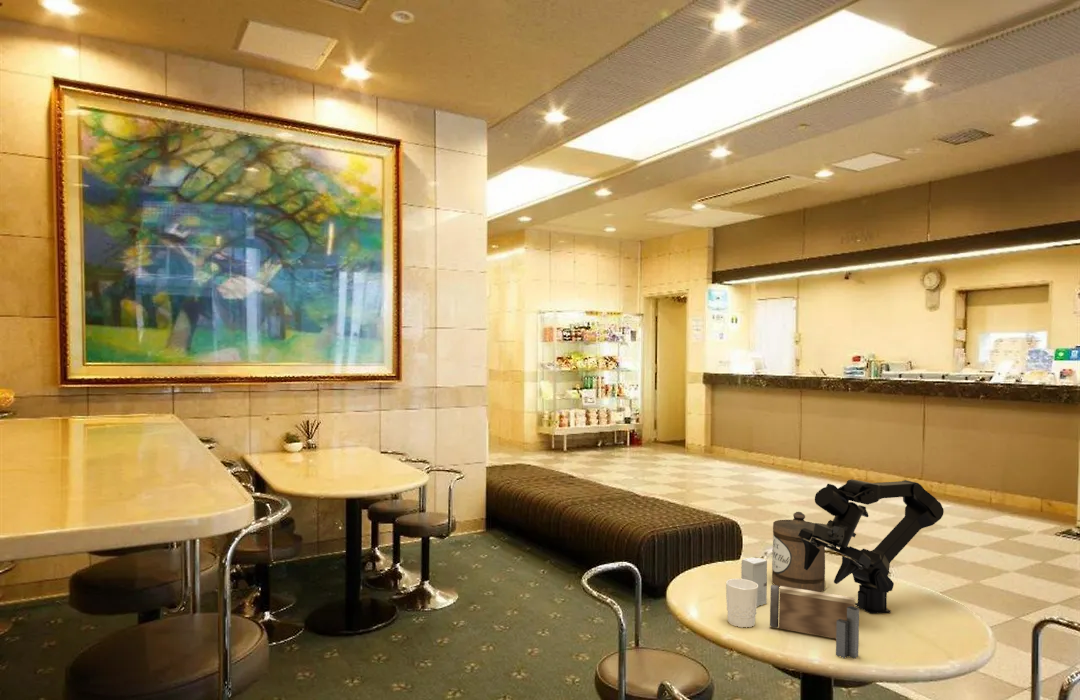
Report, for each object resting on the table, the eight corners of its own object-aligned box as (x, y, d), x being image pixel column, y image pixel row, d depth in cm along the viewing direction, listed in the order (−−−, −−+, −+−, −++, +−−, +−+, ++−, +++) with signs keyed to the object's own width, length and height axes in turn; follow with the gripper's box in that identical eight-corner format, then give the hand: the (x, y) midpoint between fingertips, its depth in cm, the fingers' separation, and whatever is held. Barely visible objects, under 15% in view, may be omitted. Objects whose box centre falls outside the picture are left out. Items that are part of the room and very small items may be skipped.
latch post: (835, 655, 151) (836, 607, 152) (843, 651, 154) (844, 603, 154) (851, 660, 149) (852, 612, 149) (858, 656, 151) (859, 608, 151)
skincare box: (753, 608, 179) (754, 563, 179) (739, 602, 183) (740, 559, 183) (767, 604, 182) (768, 560, 183) (754, 598, 186) (755, 555, 186)
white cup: (734, 614, 175) (735, 576, 175) (762, 623, 169) (763, 584, 169) (719, 622, 169) (720, 583, 169) (747, 631, 163) (748, 591, 164)
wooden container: (768, 575, 207) (770, 505, 207) (818, 579, 204) (820, 508, 204) (775, 591, 193) (777, 516, 193) (829, 596, 190) (831, 520, 190)
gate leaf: (769, 626, 166) (770, 586, 166) (770, 623, 167) (771, 584, 168) (854, 642, 158) (854, 600, 158) (853, 638, 160) (854, 597, 160)
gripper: (799, 500, 182) (775, 551, 179) (861, 523, 165) (835, 579, 163) (820, 517, 187) (797, 566, 184) (882, 540, 171) (857, 595, 168)
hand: (819, 576), depth 174 cm, fingers open, 9 cm apart
